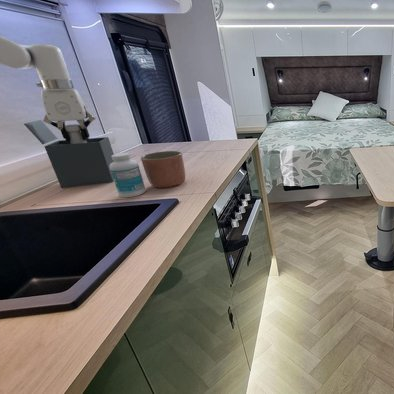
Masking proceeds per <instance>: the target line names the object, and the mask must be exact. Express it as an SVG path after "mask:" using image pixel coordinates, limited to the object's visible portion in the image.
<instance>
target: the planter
mask: <svg viewBox="0 0 394 394" xmlns="http://www.w3.org/2000/svg"><path fill="white" fill-rule="evenodd" d="M183 157H184V156H183V153H182V152H181V151H178V150H165V151H155V152H151V153H146V154H144V155H141V157H140V161H141V163H142V167H143V170H144V172H145V175H146V179H147V180H148V182H149V184H150V185H151V186H153V187H154V188H158V189H159V188H161V189H162V188H163V189H164V188H171V187H176V186H179V185H181V184H182V183H183V182H185V180H186V168H185V163H184V158H183Z"/></svg>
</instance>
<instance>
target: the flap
mask: <svg viewBox="0 0 394 394" xmlns="http://www.w3.org/2000/svg"><path fill="white" fill-rule="evenodd" d="M23 125H24V126H25V127H26V128H27V129H28V131H30V133H31V134H32V135H33V136H34V137H35V138H36V139H37V140H38V141H39V143H41V145H45V144H47V143H51V142H54V141H55V140H59V139H58V137H57V135H55V134H54V132H52V131H51V129H50V128H49V127H48V126H47V124H46V123H45V122H44V121H43V119H37V120H34V121H30V122H25V123H23Z"/></svg>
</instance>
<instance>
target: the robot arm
mask: <svg viewBox="0 0 394 394" xmlns="http://www.w3.org/2000/svg"><path fill="white" fill-rule="evenodd" d="M0 65H2V66H5V67H6V68H10V69H14V70H27V69H28V70H29V69H35V70H36V72H37V75H38V77H39V81H37V82H35V85H36V86H37V87H39V88H42V90H40V93H41V94H40V95H41V100H42V104H43V108H44V112H45V116H44V118H43V119H42V121H43V123H45V124H49V125H51V126H53V127H54V128H56V129H57V130H59V131H60V134H61V136H62V139H63V140H66V141H70V135H69V132H67V131H66V129H65V126H66V122H70V121H71V122H72V121H76V122H77V124H78V125H80V126H81V129H80V132H81V134H82V137H83V139H84V140H87V139H89V138H91V137H90V132H89V129H88V127H89V126H90V124H91V123H93V122H95V120H96V119H97V117H96V116H95V115H94V114H92V113H91V112H90V111H89V110H88V109H87V107H86V104H85V102H84V100H83V98H82V96H81V94H80V93H79V91H78V89H75V87H74V83H73V81H72V78H71V75H70V73H69V70H68V66H67V63H66V60H65V59H64V55H63V52H62V50H61V48H59V47H58V46H56V45H53V44H43V43H35V44H34V43H33V44H29V45H25V44H19V43H18V42H15V41H13V40H10V39H8V38H6V37H4V36H1V35H0Z"/></svg>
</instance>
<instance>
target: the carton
mask: <svg viewBox="0 0 394 394" xmlns="http://www.w3.org/2000/svg"><path fill="white" fill-rule="evenodd" d="M86 142H87V143H79V144H71V142H70V141H66V139H61V140H56V141H53V142H50V143H49V144H47V145H44V149H45V151H46V154H47V158H48V159H49V161H50V164H51V167H52V169H53V171H54V173H55V176H56V178H57V181H58V183H59V186H60V189H64V188H65V189H66V188H74V187H81V186H83V187H84V186H91V185H100V184H109V183H114V179H113V176H112V173H111V170H110V167H109V166H110V164H111V163H112V162H114V160H113V159H112V155H114V151H113V148H112V145H111V142H110V139H109V137H107V136H105V137H89V139H87V140H86Z"/></svg>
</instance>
